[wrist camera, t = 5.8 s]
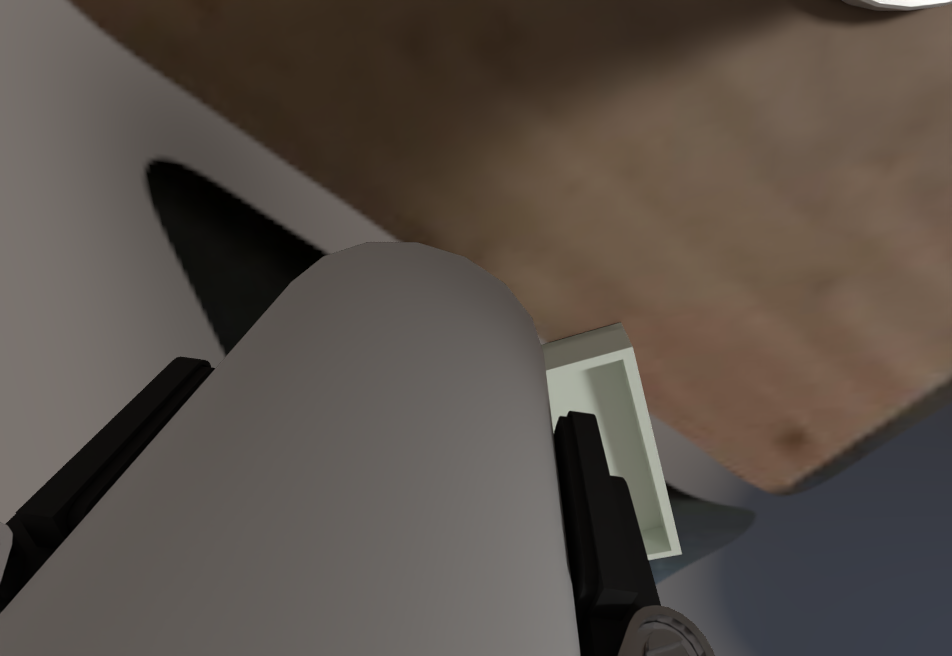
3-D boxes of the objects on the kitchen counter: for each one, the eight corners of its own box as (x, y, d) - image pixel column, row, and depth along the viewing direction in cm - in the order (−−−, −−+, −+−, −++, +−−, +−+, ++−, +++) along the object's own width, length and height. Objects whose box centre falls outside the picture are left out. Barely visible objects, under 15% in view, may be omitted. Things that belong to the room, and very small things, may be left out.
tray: (434, 375, 28) (430, 402, 26) (621, 322, 26) (632, 346, 24) (523, 551, 36) (525, 582, 34) (669, 522, 34) (681, 554, 32)
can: (293, 426, 15) (-116, 1174, 5) (272, 206, 11) (-1559, 1516, 1) (515, 457, 16) (535, 1234, 5) (570, 251, 12) (1008, 1678, 2)
